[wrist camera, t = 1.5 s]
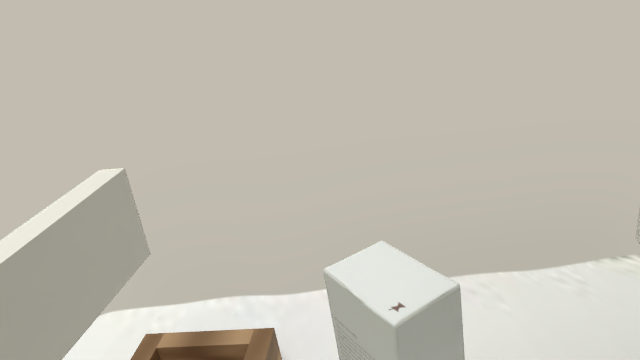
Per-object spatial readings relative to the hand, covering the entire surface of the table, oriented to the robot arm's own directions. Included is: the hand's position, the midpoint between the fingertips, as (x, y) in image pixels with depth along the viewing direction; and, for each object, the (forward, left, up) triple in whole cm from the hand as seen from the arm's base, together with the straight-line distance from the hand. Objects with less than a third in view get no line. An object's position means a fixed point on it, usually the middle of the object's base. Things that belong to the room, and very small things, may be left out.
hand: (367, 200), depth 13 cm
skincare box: (0, -9, -21) cm, 23 cm away
